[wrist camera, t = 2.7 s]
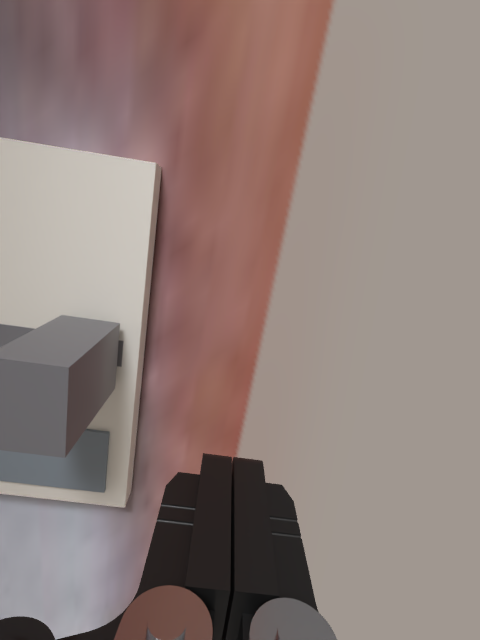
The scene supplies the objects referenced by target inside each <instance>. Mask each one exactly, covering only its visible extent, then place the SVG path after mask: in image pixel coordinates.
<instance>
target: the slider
mask: <svg viewBox="0 0 480 640" xmlns="http://www.w3.org/2000/svg"><path fill="white" fill-rule="evenodd" d="M119 331H120V323H116V322H109V321H102V320H95V319H87V318H80V317H73V316H66V315H61V316H59V317H57V318H55V319H53V320H51V321H49V322H47V323H46V324H44V325H42V326H40V327H38V328H36V329H34V330H32V331H30V332H28V333H27V334H25V335H23V336H21V337H19V338H17V339H15V340H13V341H11V342H9V343H8V344H6V345H4V346H2V347H0V450H3V451H11V452H19V453H28V454H36V455H44V456H53V457H61V458H65V457H66V456H67V455H68V453H69V452H70V450H71V449H72V448H73V446H74V445H75V444H76V442H77V441H78V439H79V438H80V437H81V435H82V434H83V432H84V431H85V430H86V428H87V427H88V425H89V424H90V423H91V421H92V420H93V419H94V417H95V416H96V414H97V413H98V412H99V410H100V409H101V407H102V406H103V405H104V403H105V402H106V401H107V399H108V398H109V396H110V395H111V394H112V392H113V391H114V389H115V383H116V370H117V357H118V344H119Z"/></svg>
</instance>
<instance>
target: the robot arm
mask: <svg viewBox="0 0 480 640" xmlns="http://www.w3.org/2000/svg"><path fill="white" fill-rule="evenodd" d="M0 640H55V638H54V636H53V634H52V632H51V630H50V629H49V628H48V627H47V626H46V625H45V624H44V623H42V622H41V621H39V620H37V619H34V618H30V617H11V618H5V619H2V620H0ZM57 640H337V639H336V636H335V634H334V632H333V630H332V629H331V627H330V625H329V624H328V623H327V621H326V620H325V619H324V618H323V617H322V616H321V614H319V612H318V610H317V606H316V602H315V598H314V594H313V589H312V584H311V580H310V575H309V570H308V566H307V561H306V557H305V552H304V547H303V543H302V539H301V534H300V529H299V524H298V523H297V515H296V511H295V506H294V501H293V500H292V498H291V497H290V496H289V494H288V493H287V491H286V490H285V489H284V487H283V486H282V485H279V484H271V483H265V476H264V467H263V462H262V461H260V460H253V459H245V458H237V457H234V458H233V461H232V457H228V456H220V455H212V454H204V453H203V458H202V465H201V471H200V475H197V474H189V473H181V472H178V473H177V474H176V476H175V477H174V478H173V479H172V480H171V481H170V482H169V483H168V484H167V485H166V488H165V492H164V495H163V499H162V503H161V507H160V511H159V514H158V518H157V522H156V526H155V529H154V533H153V537H152V541H151V544H150V548H149V552H148V556H147V559H146V563H145V567H144V571H143V575H142V578H141V582H140V586H139V588H138V591H137V593H136V595H135V597H134V599H133V601H132V602H131V603H130V605H129V606H128V607H127V608H126V609H125V611H124V612H123V613H122V614H120V615H119V616H118V617H117V618H116V619H114V620H113V621H111V622H110V623H108V624H106V625H104V626H102V627H100V628H98V629H95V630H92V631H89V632H85V633H81V634H77V635H73V636H69V637H65V638H61V639H57Z"/></svg>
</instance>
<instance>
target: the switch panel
mask: <svg viewBox="0 0 480 640" xmlns="http://www.w3.org/2000/svg"><path fill="white" fill-rule="evenodd" d="M161 170H162V167H160V166H159V165H158V164H157V163H153V162H147V161H141V160H135V159H129V158H123V157H117V156H110V155H104V154H98V153H92V152H86V151H80V150H74V149H68V148H62V147H56V146H50V145H44V144H38V143H32V142H25V141H19V140H13V139H7V138H1V137H0V347H2V346H4V345H6V344H8V343H9V342H11V341H13V340H15V339H17V338H19V337H21V336H23V335H25V334H27V333H28V332H30V331H32V330H34V329H36V328H38V327H40V326H42V325H44V324H46V323H47V322H49V321H51V320H53V319H55V318H57V317H59V316H61V315H66V316H73V317H80V318H87V319H95V320H102V321H109V322H116V323H120V331H119V344H118V357H117V370H116V383H115V389H114V391H113V392H112V394H111V395H110V396H109V398H108V399H107V401H106V402H105V403H104V405H103V406H102V407H101V409H100V410H99V412H98V413H97V414H96V416H95V417H94V419H93V420H92V421H91V423H90V424H89V425H88V427H87V428H86V430H85V431H84V432H83V434H82V435H81V437H80V438H79V439H78V441H77V442H76V444H75V445H74V446H73V448H72V449H71V450H70V452H69V453H68V455H67V456H66V457H65V458H61V457H53V456H44V455H36V454H28V453H19V452H11V451H3V450H0V494H7V495H16V496H25V497H34V498H43V499H51V500H60V501H69V502H78V503H87V504H95V505H104V506H113V507H122V508H125V506H126V504H127V501H128V498H129V496H130V493H131V489H132V478H133V468H134V457H135V447H136V436H137V425H138V415H139V404H140V393H141V383H142V372H143V362H144V351H145V340H146V330H147V319H148V308H149V298H150V287H151V277H152V266H153V255H154V245H155V234H156V224H157V213H158V202H159V192H160V181H161Z"/></svg>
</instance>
